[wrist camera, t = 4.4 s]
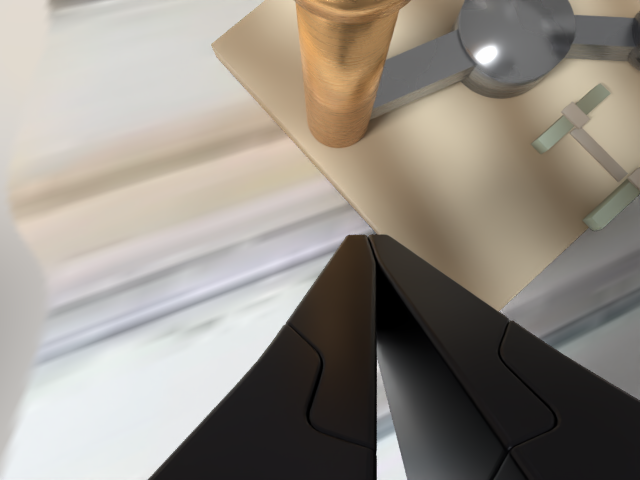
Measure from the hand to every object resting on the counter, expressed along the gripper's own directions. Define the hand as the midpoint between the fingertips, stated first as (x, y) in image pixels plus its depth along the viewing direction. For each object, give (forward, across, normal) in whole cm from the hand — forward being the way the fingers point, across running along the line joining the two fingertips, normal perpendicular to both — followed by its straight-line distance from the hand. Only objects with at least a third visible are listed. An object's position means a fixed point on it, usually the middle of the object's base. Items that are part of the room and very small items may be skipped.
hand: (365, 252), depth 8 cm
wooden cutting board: (+13, +6, -1) cm, 14 cm away
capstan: (+11, +6, -1) cm, 13 cm away
